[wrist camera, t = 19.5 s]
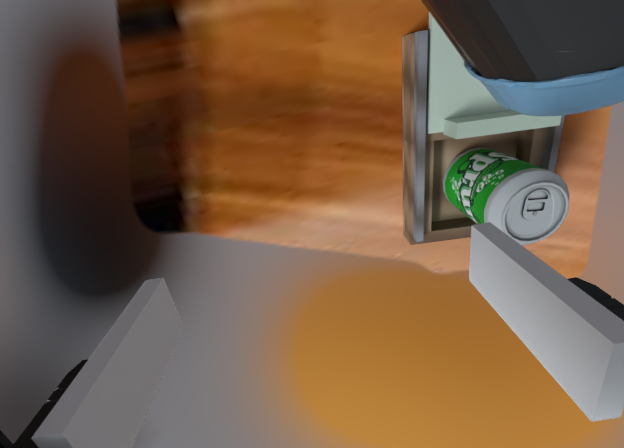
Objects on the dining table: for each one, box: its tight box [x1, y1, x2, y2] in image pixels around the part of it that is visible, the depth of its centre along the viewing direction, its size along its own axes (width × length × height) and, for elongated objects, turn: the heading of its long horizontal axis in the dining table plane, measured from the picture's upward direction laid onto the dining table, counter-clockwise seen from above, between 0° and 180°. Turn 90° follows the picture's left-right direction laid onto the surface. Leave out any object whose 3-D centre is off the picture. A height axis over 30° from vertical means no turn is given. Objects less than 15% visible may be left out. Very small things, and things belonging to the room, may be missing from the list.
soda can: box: [443, 148, 569, 245], centre depth 34 cm, size 8×8×12 cm
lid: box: [426, 12, 562, 139], centre depth 31 cm, size 12×13×4 cm
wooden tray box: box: [402, 30, 565, 245], centre depth 37 cm, size 23×16×4 cm
